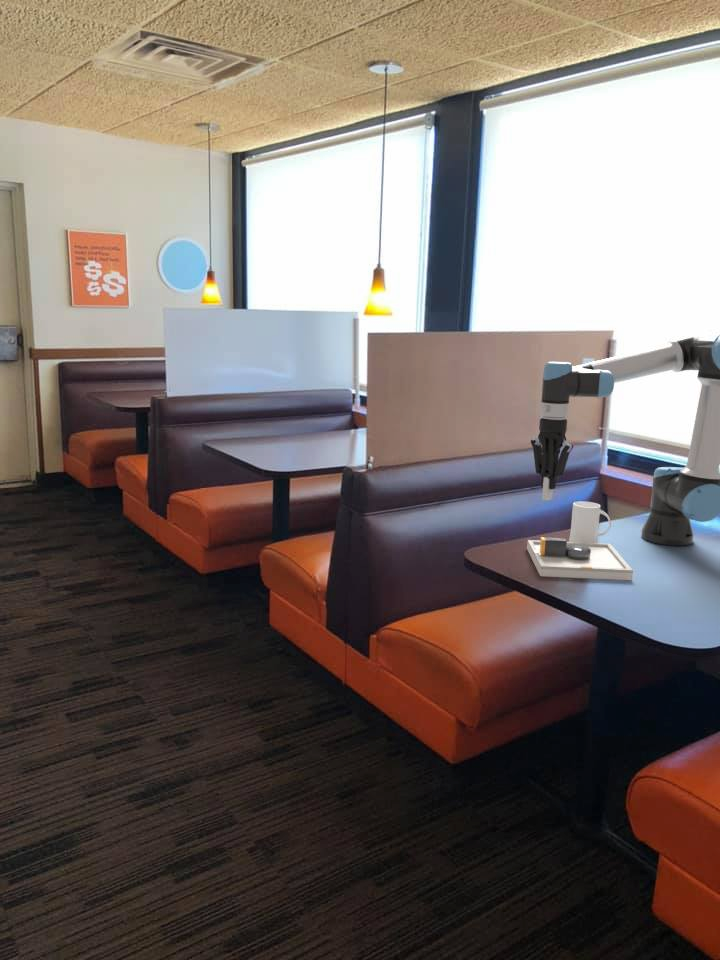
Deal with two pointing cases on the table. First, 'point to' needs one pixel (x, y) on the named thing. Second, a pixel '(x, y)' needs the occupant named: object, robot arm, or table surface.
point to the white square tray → (582, 563)
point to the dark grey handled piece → (563, 548)
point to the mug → (586, 522)
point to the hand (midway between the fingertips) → (547, 499)
